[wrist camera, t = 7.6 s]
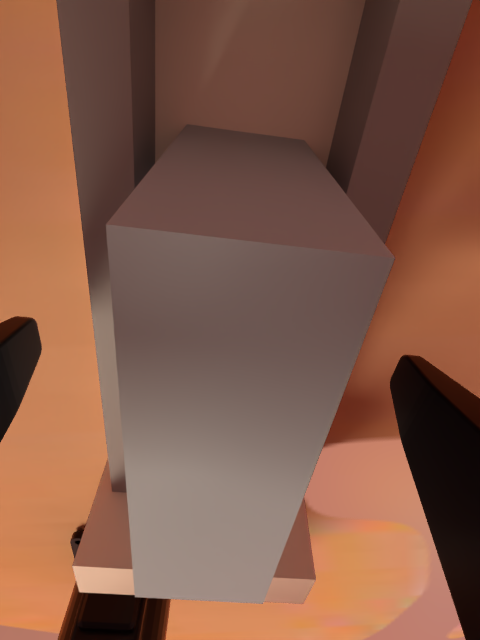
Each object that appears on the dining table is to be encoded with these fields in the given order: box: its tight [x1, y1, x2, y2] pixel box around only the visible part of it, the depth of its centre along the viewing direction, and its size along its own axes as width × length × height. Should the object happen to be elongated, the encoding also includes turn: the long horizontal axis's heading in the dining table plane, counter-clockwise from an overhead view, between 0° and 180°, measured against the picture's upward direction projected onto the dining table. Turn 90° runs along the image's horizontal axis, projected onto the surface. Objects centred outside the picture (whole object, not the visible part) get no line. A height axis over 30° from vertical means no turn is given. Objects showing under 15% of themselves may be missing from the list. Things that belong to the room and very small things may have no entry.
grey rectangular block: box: [106, 124, 395, 604], centre depth 9 cm, size 9×3×7 cm, turn 173°
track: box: [56, 0, 472, 604], centre depth 11 cm, size 20×8×6 cm, turn 173°
